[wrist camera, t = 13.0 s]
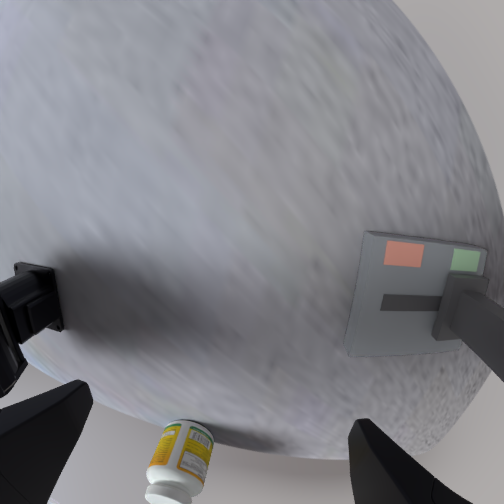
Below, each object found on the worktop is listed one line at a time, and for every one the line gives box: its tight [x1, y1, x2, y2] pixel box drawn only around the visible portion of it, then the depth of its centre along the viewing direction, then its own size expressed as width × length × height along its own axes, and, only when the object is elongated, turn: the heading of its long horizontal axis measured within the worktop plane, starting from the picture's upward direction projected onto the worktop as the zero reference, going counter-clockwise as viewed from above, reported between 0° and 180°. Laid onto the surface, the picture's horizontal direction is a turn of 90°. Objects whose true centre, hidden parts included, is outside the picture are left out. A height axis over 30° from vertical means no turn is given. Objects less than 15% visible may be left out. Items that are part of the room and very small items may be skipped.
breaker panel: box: [344, 231, 488, 357], centre depth 18 cm, size 11×9×2 cm
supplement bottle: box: [145, 420, 214, 504], centre depth 20 cm, size 5×5×10 cm
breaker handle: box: [431, 273, 504, 382], centre depth 12 cm, size 4×5×11 cm
